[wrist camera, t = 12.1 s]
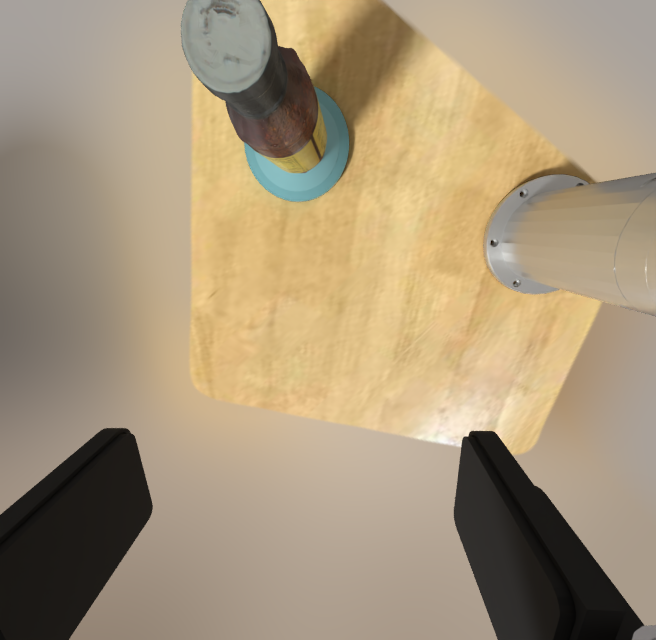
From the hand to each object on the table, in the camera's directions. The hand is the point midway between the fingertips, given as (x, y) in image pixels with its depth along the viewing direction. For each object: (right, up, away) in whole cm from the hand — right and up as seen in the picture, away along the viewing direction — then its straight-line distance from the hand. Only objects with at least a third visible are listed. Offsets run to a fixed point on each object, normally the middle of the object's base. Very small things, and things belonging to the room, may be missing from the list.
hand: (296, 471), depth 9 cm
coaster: (-2, +23, +24) cm, 33 cm away
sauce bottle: (-2, +23, +23) cm, 33 cm away
